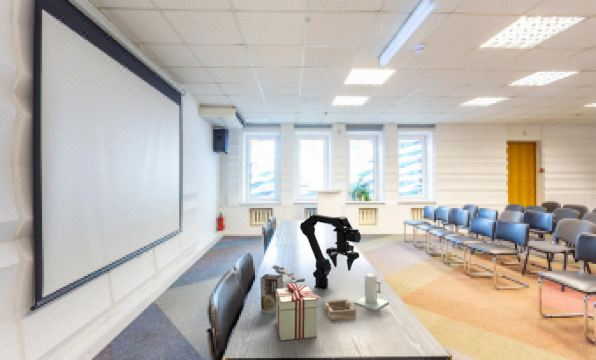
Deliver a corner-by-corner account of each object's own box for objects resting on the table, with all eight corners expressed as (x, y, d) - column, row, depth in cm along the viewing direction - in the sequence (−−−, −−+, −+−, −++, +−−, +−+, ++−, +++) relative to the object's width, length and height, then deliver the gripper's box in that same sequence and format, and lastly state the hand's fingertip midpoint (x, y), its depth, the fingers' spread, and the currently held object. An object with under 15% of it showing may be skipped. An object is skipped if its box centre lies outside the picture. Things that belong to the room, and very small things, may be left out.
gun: (264, 265, 202) (277, 261, 207) (265, 270, 202) (277, 266, 208) (290, 280, 171) (304, 275, 177) (291, 286, 172) (305, 281, 177)
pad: (354, 303, 143) (354, 301, 143) (367, 296, 151) (367, 294, 151) (375, 311, 135) (375, 309, 135) (388, 303, 143) (388, 301, 143)
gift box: (327, 335, 114) (326, 291, 114) (281, 343, 109) (280, 298, 109) (312, 316, 130) (312, 278, 131) (272, 322, 125) (272, 282, 125)
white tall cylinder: (362, 301, 143) (362, 275, 143) (369, 298, 147) (368, 272, 147) (377, 306, 137) (376, 279, 137) (383, 302, 141) (383, 276, 142)
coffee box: (283, 308, 139) (283, 275, 139) (278, 314, 133) (277, 279, 133) (266, 306, 142) (265, 273, 142) (260, 311, 136) (259, 277, 136)
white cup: (277, 294, 156) (276, 276, 156) (291, 293, 157) (291, 275, 157) (277, 300, 148) (277, 281, 148) (292, 299, 149) (292, 280, 149)
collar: (324, 309, 137) (324, 301, 137) (347, 307, 139) (346, 299, 139) (330, 320, 126) (330, 312, 126) (355, 318, 128) (355, 310, 128)
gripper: (364, 240, 156) (365, 269, 156) (337, 235, 169) (338, 262, 169) (352, 243, 148) (353, 274, 148) (325, 238, 162) (325, 266, 162)
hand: (342, 268), depth 157 cm, fingers open, 9 cm apart
